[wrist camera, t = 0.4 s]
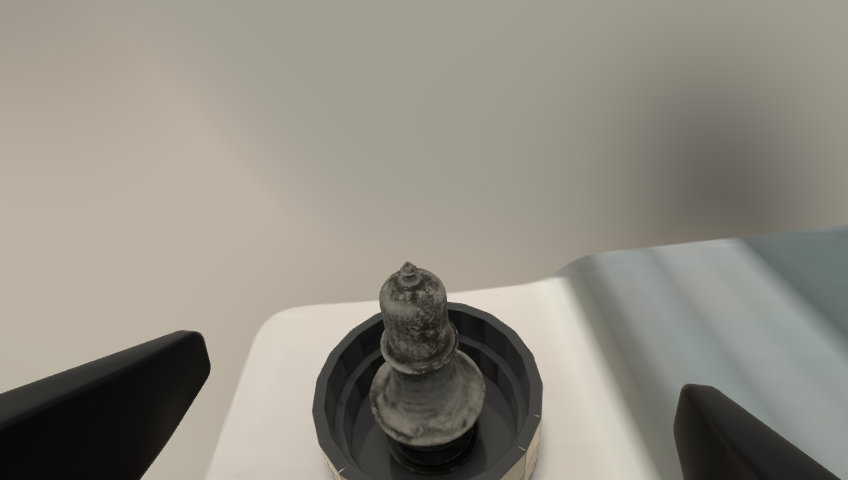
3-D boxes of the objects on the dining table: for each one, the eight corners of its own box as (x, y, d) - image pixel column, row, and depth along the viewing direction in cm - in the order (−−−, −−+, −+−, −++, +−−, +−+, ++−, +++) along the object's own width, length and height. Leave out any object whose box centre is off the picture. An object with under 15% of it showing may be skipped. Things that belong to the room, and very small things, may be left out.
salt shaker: (391, 498, 22) (340, 338, 14) (372, 396, 26) (326, 237, 19) (503, 461, 23) (508, 293, 15) (465, 369, 27) (455, 207, 20)
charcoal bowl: (530, 575, 19) (536, 534, 16) (297, 515, 22) (269, 471, 19) (540, 362, 27) (546, 312, 25) (372, 338, 30) (360, 291, 28)
